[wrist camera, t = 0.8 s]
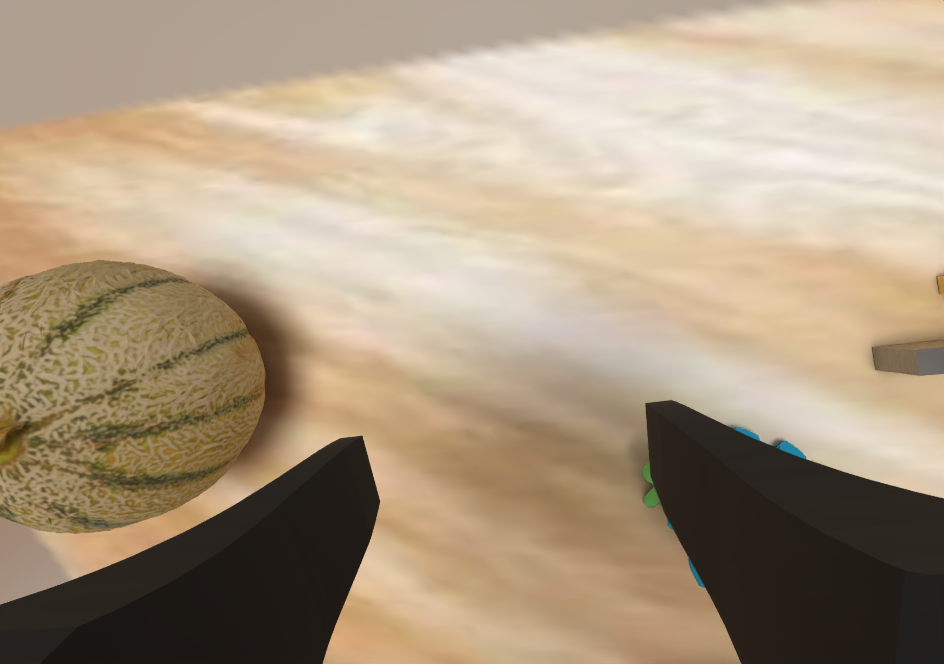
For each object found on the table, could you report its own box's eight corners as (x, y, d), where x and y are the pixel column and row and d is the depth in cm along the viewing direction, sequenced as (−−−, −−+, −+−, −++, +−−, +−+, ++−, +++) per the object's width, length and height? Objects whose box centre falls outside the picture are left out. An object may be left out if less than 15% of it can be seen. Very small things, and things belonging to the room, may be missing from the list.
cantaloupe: (138, 285, 34) (-194, 250, 19) (306, 269, 30) (60, 213, 16) (146, 476, 34) (-182, 587, 19) (315, 481, 30) (77, 621, 16)
